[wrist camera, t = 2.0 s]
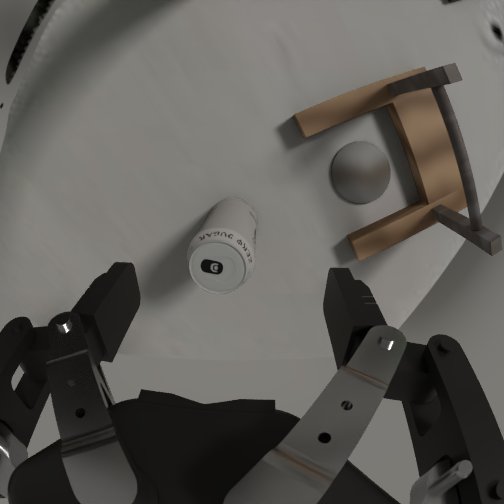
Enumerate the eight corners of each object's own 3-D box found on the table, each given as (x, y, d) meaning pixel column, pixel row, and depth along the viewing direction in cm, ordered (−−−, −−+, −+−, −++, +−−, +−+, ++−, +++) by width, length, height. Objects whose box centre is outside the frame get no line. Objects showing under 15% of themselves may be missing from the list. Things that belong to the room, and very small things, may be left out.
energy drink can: (252, 245, 40) (246, 306, 26) (207, 236, 40) (178, 292, 26) (262, 201, 38) (261, 241, 24) (214, 192, 37) (186, 227, 23)
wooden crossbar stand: (292, 115, 33) (313, 101, 19) (416, 69, 30) (486, 48, 15) (354, 254, 40) (396, 316, 25) (460, 201, 36) (530, 235, 22)
